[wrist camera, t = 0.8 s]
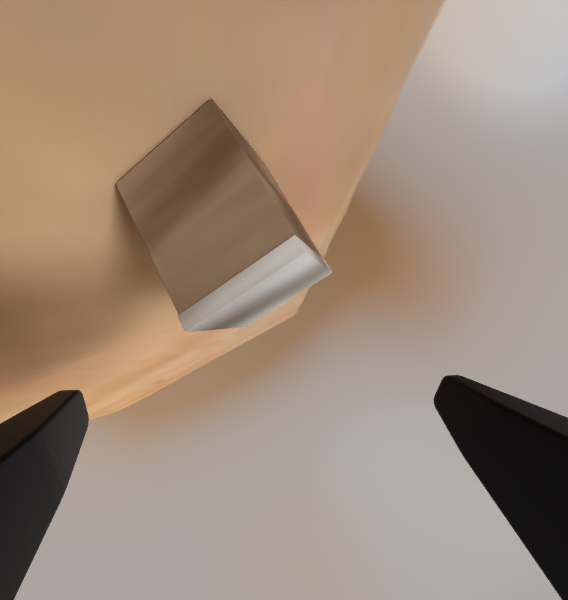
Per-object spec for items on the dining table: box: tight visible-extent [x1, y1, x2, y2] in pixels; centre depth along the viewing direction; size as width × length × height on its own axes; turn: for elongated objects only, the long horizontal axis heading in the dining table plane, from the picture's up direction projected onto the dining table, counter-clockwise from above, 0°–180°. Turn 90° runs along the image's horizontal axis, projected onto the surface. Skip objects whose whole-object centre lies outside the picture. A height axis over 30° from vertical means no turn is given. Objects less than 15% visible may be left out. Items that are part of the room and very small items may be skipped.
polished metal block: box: [116, 98, 332, 332], centre depth 16 cm, size 6×6×8 cm
